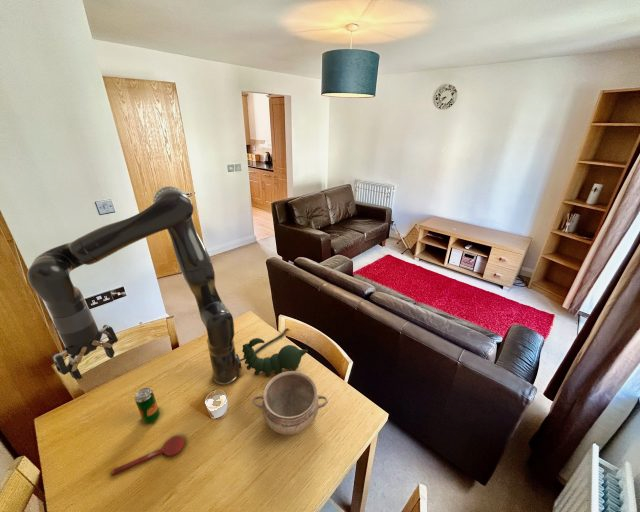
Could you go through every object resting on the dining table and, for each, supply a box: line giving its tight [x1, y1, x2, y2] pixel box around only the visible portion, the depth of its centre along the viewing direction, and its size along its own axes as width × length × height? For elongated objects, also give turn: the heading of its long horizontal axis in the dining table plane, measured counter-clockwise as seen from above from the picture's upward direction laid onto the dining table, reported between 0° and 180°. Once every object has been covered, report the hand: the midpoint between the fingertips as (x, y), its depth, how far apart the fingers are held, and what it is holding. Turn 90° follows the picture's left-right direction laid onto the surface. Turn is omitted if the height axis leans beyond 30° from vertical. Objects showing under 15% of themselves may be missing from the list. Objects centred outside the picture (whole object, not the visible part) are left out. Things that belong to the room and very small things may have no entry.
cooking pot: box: [252, 370, 329, 436], centre depth 92 cm, size 25×19×12 cm
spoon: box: [111, 435, 185, 476], centre depth 81 cm, size 18×6×1 cm, turn 119°
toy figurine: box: [241, 337, 309, 378], centre depth 108 cm, size 9×19×25 cm
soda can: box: [134, 387, 161, 424], centre depth 90 cm, size 5×5×12 cm
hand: (95, 366), depth 80 cm, fingers open, 8 cm apart
